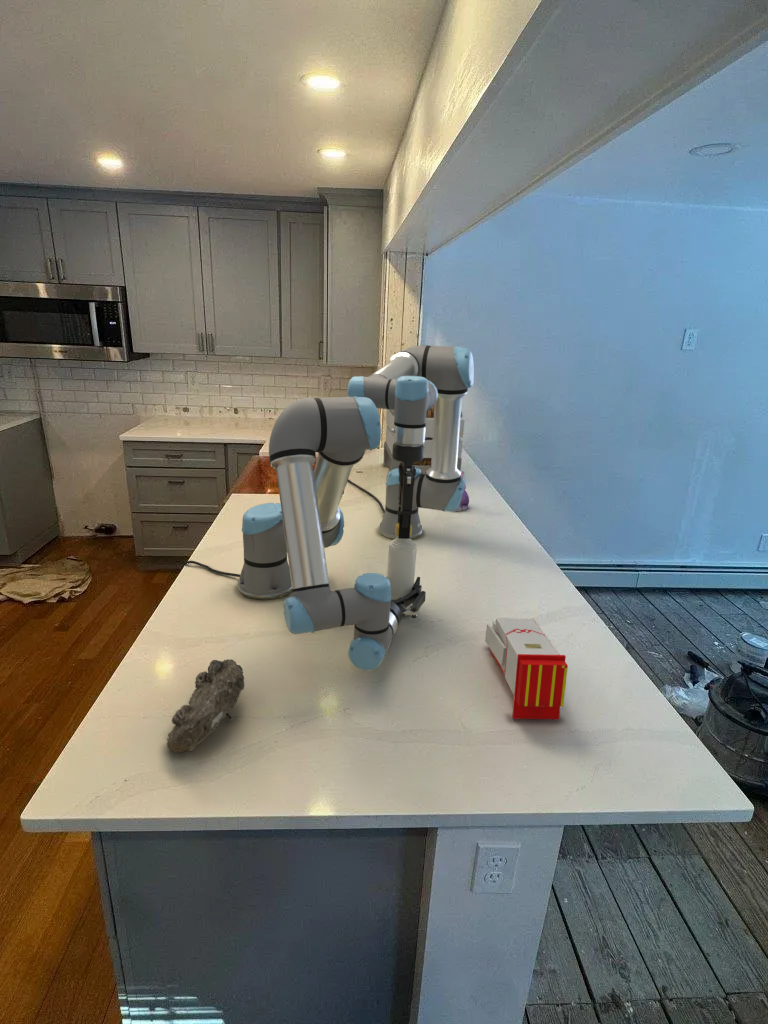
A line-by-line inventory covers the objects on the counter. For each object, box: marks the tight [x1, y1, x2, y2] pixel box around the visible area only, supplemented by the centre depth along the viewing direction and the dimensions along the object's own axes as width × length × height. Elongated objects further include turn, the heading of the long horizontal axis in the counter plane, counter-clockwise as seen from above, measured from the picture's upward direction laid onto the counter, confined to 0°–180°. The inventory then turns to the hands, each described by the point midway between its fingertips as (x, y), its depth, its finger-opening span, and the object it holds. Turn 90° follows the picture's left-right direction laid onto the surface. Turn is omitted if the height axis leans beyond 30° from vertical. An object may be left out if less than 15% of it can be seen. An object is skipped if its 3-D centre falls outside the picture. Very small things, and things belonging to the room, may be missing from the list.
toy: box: [484, 617, 569, 720], centre depth 122 cm, size 12×13×30 cm
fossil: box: [166, 658, 245, 754], centre depth 106 cm, size 22×10×15 cm
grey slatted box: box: [383, 406, 465, 472], centre depth 268 cm, size 34×33×41 cm
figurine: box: [455, 470, 470, 512], centre depth 226 cm, size 9×10×15 cm
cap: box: [395, 523, 412, 536], centre depth 142 cm, size 4×4×2 cm
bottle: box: [386, 536, 418, 617], centre depth 146 cm, size 7×7×23 cm
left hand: (404, 579), depth 152 cm, fingers closed on bottle, 7 cm apart
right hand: (403, 534), depth 143 cm, fingers closed on cap, 4 cm apart
